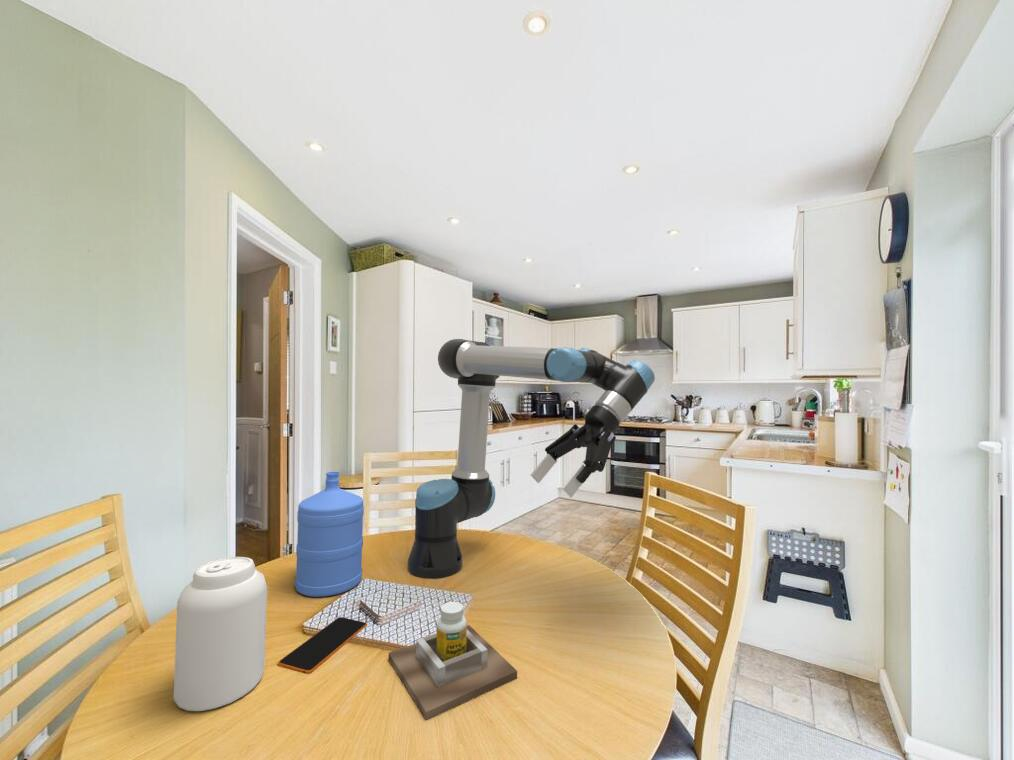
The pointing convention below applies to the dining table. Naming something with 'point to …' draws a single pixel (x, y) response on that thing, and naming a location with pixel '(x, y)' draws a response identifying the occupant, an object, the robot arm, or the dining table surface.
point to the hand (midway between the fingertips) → (549, 485)
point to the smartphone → (322, 645)
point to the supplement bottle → (451, 631)
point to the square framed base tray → (449, 673)
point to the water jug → (329, 541)
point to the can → (220, 634)
